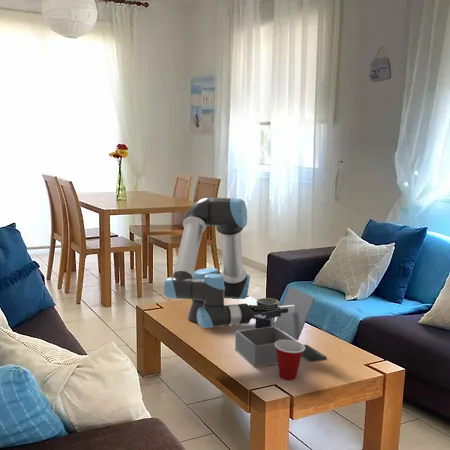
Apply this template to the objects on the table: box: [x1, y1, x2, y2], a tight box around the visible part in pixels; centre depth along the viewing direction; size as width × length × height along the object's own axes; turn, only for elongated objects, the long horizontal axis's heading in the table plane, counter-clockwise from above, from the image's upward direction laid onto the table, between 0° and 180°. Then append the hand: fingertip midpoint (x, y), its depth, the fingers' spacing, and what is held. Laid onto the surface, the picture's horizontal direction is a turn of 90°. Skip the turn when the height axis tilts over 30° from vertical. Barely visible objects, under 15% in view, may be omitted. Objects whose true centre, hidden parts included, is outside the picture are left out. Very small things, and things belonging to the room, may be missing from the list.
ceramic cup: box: [256, 297, 280, 324], centre depth 261 cm, size 13×10×10 cm
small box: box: [254, 318, 274, 329], centre depth 237 cm, size 11×6×10 cm, turn 168°
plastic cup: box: [274, 340, 305, 381], centre depth 199 cm, size 11×11×12 cm
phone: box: [301, 344, 327, 363], centre depth 222 cm, size 8×1×15 cm
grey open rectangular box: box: [234, 325, 297, 368], centre depth 219 cm, size 18×17×8 cm
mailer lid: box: [273, 285, 316, 342], centre depth 222 cm, size 18×17×1 cm
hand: (293, 308), depth 221 cm, fingers closed
